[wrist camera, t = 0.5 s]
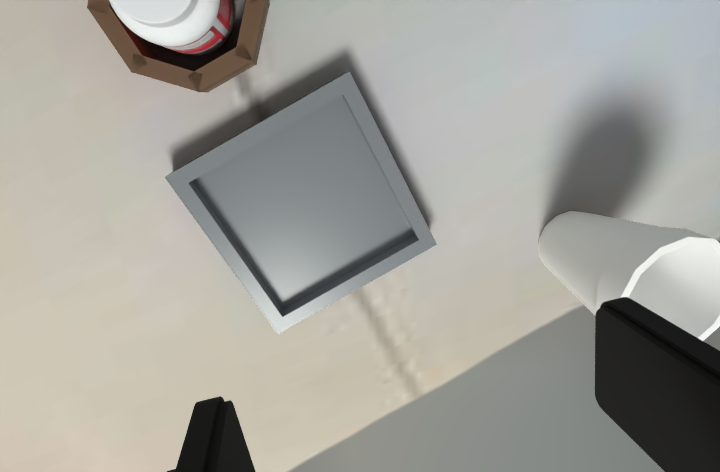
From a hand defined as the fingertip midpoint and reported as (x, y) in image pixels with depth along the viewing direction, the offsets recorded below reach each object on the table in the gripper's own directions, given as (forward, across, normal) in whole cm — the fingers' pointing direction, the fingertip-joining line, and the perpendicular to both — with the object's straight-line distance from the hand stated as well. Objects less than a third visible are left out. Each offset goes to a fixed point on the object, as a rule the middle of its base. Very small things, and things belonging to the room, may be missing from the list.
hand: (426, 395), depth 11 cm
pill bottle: (+29, +7, -14) cm, 33 cm away
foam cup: (+29, -22, +11) cm, 38 cm away
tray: (+28, +2, +2) cm, 29 cm away
